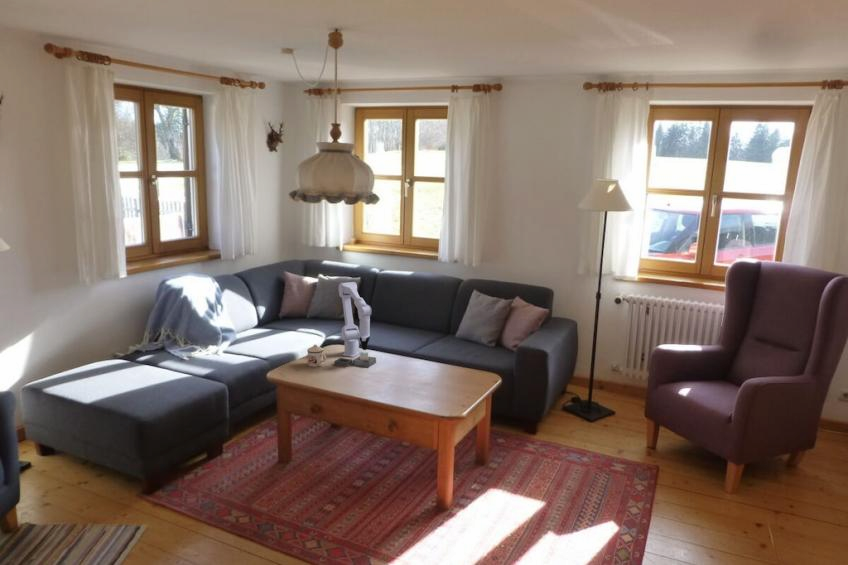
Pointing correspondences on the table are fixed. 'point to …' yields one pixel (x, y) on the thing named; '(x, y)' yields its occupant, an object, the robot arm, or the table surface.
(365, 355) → the plug
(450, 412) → the table surface
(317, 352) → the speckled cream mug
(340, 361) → the grey hollow square frame
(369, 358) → the port
